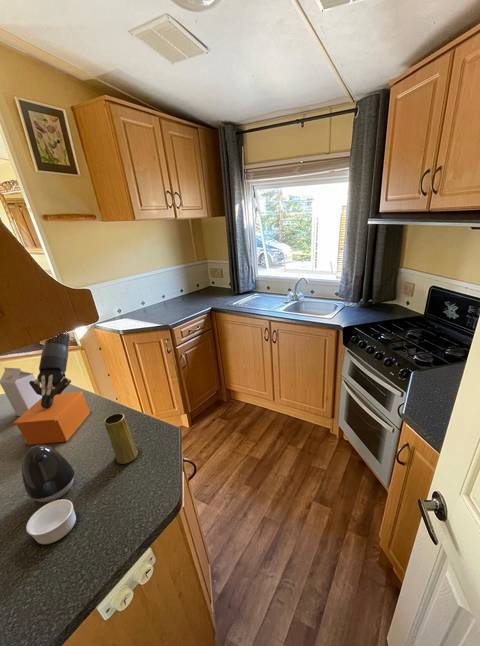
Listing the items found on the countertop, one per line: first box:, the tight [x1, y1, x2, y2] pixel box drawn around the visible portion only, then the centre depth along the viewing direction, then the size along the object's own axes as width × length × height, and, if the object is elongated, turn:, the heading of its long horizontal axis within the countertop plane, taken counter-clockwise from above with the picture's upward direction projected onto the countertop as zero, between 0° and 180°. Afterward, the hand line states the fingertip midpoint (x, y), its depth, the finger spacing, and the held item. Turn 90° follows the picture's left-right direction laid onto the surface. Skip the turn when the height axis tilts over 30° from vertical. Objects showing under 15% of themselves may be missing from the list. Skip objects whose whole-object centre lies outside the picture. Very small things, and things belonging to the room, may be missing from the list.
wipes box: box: [16, 393, 91, 446], centre depth 100 cm, size 16×13×9 cm
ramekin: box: [25, 498, 77, 545], centre depth 67 cm, size 9×9×4 cm
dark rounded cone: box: [21, 444, 75, 503], centre depth 74 cm, size 10×10×15 cm
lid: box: [12, 391, 83, 426], centre depth 98 cm, size 16×13×1 cm
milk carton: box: [0, 366, 42, 417], centre depth 108 cm, size 7×7×19 cm
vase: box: [103, 412, 139, 465], centre depth 84 cm, size 6×6×14 cm
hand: (46, 407), depth 96 cm, fingers closed
